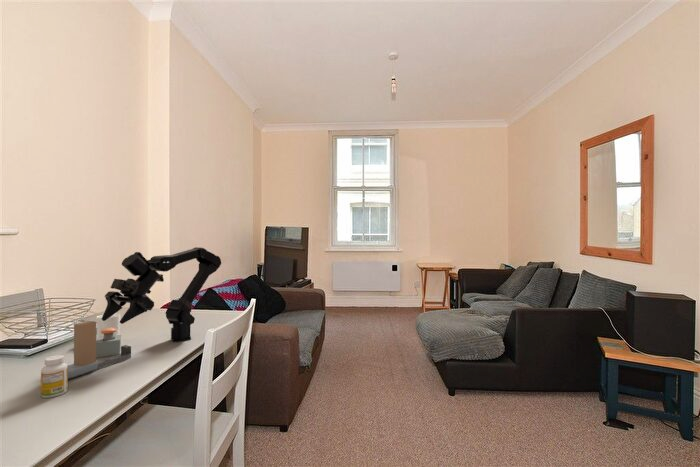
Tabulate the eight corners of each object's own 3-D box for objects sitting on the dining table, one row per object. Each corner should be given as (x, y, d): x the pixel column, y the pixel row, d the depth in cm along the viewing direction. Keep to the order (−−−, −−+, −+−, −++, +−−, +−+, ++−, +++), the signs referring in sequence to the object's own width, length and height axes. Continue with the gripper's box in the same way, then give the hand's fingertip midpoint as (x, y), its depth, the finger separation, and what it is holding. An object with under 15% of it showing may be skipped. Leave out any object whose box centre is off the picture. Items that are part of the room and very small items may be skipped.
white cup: (108, 344, 131) (108, 318, 131) (91, 342, 132) (91, 317, 132) (125, 338, 139) (125, 313, 139) (109, 336, 140) (109, 312, 140)
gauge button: (116, 343, 125) (116, 327, 125) (115, 346, 121) (115, 330, 121) (101, 345, 122) (101, 329, 122) (100, 348, 119) (100, 332, 119)
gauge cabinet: (120, 348, 126) (120, 334, 126) (119, 353, 121) (119, 339, 121) (97, 351, 123) (97, 337, 123) (95, 357, 117) (95, 343, 117)
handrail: (125, 356, 118) (125, 345, 118) (131, 357, 117) (131, 346, 117) (47, 382, 97) (47, 369, 97) (53, 384, 96) (53, 370, 96)
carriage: (86, 365, 108) (86, 320, 108) (97, 368, 106) (97, 322, 106) (54, 376, 100) (55, 327, 100) (66, 379, 98) (66, 329, 98)
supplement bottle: (51, 389, 93) (51, 354, 93) (72, 388, 94) (72, 353, 94) (35, 398, 88) (35, 361, 88) (57, 398, 88) (57, 361, 88)
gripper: (110, 268, 121) (75, 305, 111) (146, 271, 114) (112, 310, 104) (131, 287, 128) (100, 323, 118) (167, 290, 121) (136, 329, 111)
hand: (111, 321), depth 112 cm, fingers open, 9 cm apart
